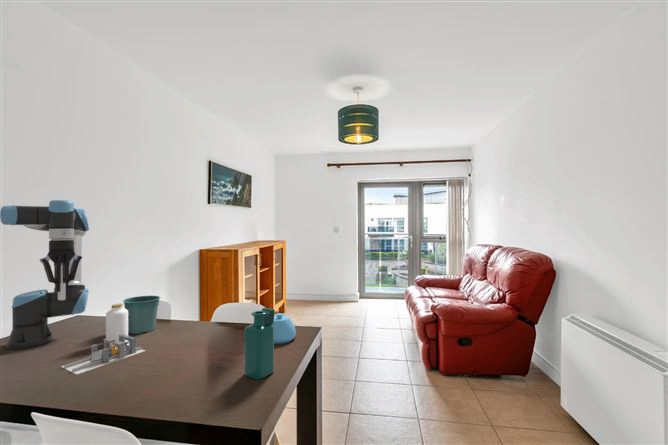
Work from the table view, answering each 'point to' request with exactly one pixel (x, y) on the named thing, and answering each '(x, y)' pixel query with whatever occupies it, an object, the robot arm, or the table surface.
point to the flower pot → (141, 313)
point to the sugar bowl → (283, 329)
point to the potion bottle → (116, 322)
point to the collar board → (105, 354)
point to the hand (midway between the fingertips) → (61, 299)
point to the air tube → (112, 351)
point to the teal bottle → (259, 345)
